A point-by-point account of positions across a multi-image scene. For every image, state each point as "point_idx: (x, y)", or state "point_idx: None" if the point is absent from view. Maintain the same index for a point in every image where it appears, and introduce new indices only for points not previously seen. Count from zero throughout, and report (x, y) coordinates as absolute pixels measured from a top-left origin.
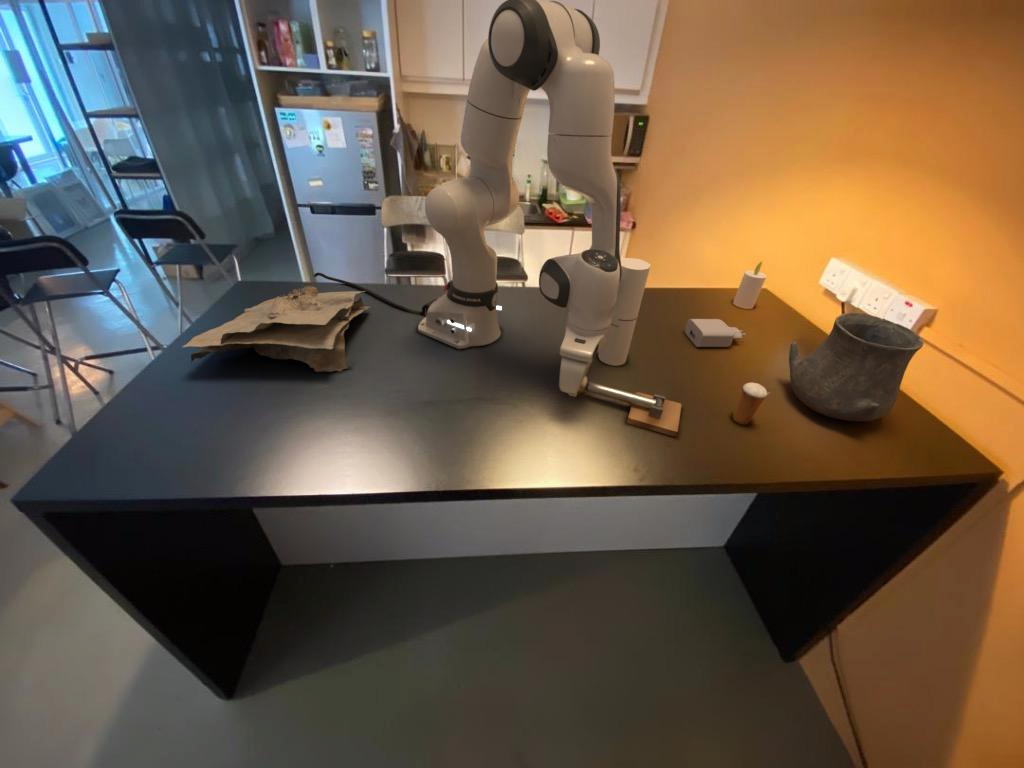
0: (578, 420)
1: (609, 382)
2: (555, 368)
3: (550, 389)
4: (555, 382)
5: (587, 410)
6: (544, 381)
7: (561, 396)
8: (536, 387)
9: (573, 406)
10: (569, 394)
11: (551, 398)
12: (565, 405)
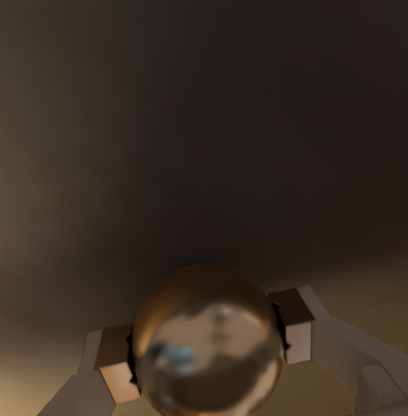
0: (21, 372)
1: None
2: (389, 67)
3: (142, 159)
4: (232, 149)
5: None
6: (199, 76)
7: (125, 242)
8: (91, 60)
9: (94, 319)
10: (90, 335)
11: (64, 209)
12: (70, 291)
